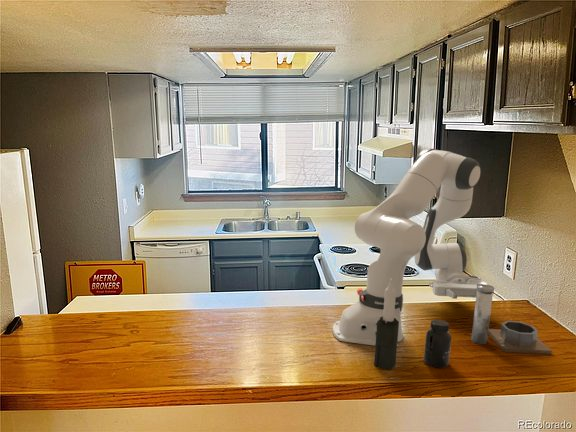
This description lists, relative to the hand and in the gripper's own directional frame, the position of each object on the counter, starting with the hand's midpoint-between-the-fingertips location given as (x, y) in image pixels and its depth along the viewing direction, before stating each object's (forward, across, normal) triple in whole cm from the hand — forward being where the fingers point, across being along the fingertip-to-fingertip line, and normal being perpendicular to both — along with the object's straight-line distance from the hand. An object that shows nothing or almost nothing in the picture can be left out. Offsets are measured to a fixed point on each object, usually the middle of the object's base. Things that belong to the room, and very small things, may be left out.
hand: (469, 297), depth 154 cm
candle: (+31, -33, +10) cm, 47 cm away
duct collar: (+12, +12, +10) cm, 20 cm away
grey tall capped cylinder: (+12, 0, +10) cm, 16 cm away
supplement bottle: (+28, -18, +10) cm, 35 cm away
